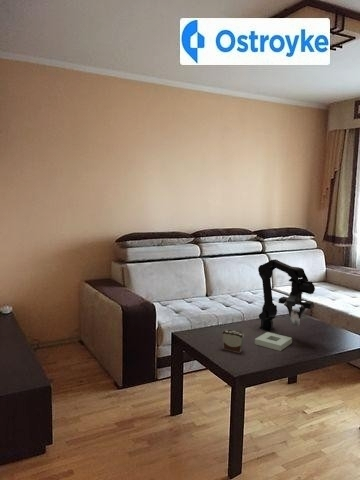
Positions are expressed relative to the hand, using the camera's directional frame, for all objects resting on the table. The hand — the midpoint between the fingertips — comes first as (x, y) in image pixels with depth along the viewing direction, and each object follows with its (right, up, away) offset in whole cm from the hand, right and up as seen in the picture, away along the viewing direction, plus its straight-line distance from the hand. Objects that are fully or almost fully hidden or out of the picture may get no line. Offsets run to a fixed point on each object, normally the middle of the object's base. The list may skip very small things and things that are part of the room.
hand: (295, 317), depth 223 cm
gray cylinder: (0, -4, 0) cm, 4 cm away
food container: (-36, -14, -14) cm, 41 cm away
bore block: (-13, -13, -5) cm, 20 cm away
